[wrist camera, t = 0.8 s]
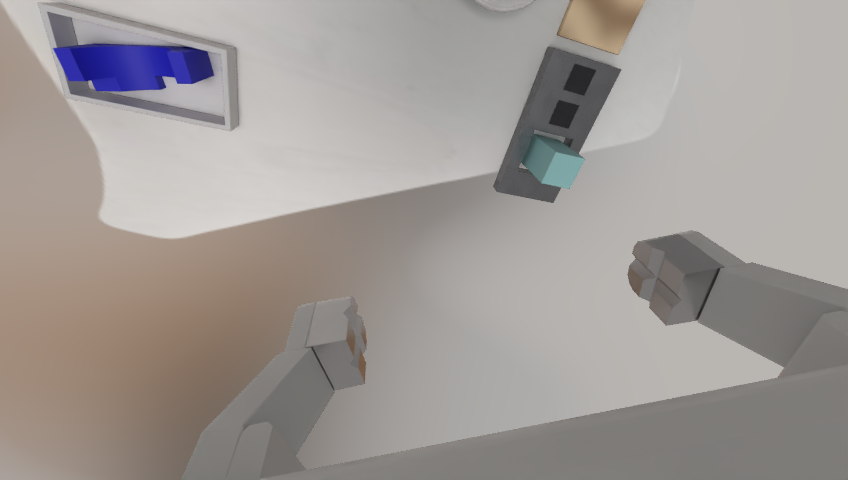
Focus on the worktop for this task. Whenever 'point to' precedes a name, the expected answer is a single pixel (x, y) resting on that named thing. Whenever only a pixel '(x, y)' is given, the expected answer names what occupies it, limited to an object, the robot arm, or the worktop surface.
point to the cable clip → (133, 65)
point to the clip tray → (64, 35)
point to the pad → (600, 22)
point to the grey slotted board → (556, 116)
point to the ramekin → (503, 4)
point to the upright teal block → (552, 161)
